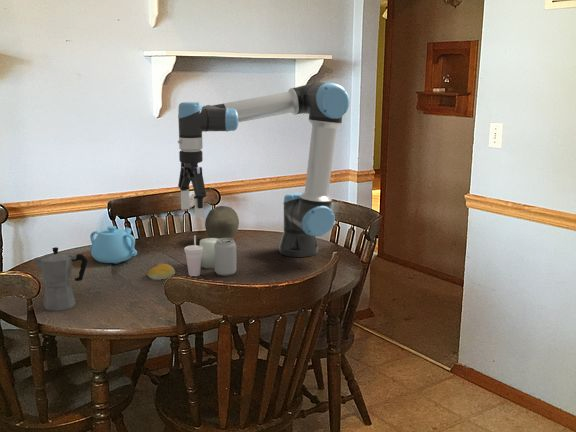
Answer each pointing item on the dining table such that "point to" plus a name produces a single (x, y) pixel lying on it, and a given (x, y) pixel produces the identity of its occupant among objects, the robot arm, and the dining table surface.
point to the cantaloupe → (222, 222)
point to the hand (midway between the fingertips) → (192, 213)
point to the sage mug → (208, 252)
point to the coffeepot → (59, 278)
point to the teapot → (113, 245)
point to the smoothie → (194, 258)
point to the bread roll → (161, 272)
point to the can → (225, 256)
